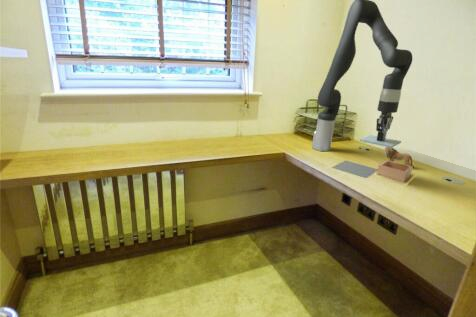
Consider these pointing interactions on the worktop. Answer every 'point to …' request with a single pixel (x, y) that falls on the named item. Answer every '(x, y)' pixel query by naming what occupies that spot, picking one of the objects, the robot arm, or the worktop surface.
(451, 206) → the worktop surface
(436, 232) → the worktop surface
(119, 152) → the worktop surface
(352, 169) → the mat
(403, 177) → the dish
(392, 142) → the lid
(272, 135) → the worktop surface
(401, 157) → the lion figurine
